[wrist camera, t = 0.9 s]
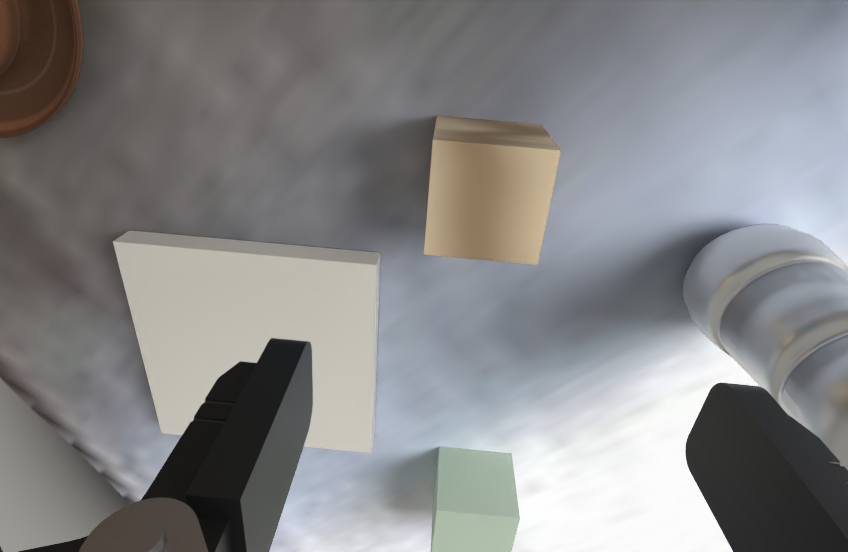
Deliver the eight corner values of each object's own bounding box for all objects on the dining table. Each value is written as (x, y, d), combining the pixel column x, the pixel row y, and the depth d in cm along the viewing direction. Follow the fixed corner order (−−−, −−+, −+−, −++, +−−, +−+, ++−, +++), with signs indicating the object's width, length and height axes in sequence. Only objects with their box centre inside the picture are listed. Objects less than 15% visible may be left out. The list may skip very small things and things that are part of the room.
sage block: (511, 452, 34) (519, 518, 30) (500, 500, 36) (507, 567, 32) (439, 445, 34) (436, 510, 30) (433, 493, 36) (430, 559, 32)
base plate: (380, 252, 27) (376, 265, 26) (374, 435, 34) (371, 453, 32) (129, 230, 27) (112, 241, 26) (173, 416, 34) (161, 433, 33)
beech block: (541, 124, 23) (561, 150, 19) (523, 221, 26) (537, 264, 21) (437, 115, 24) (432, 139, 19) (429, 213, 26) (423, 254, 22)
